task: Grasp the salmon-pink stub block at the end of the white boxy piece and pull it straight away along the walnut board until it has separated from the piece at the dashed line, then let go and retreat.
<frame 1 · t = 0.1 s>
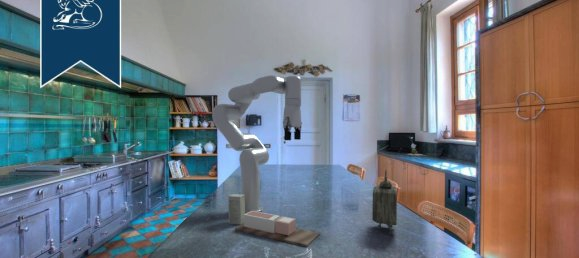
hand: (292, 139, 125), 37 cm above the countertop, tool pointing down, fingers open, 9 cm apart
white boxy piece: (262, 229, 111), resting on board
board: (276, 232, 108), on the countertop
stub: (285, 225, 106), point 4 cm above the countertop, slide at 0.0 cm
skincare box: (236, 222, 119), on the countertop
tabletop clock: (384, 229, 112), on the countertop
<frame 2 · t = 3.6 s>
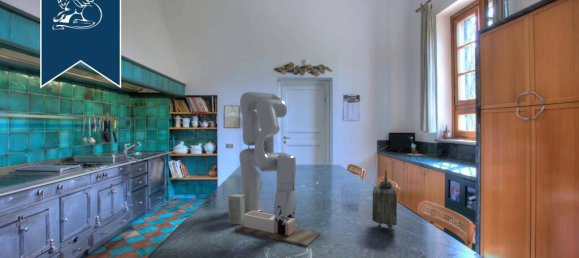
hand: (285, 230, 106), 1 cm above the countertop, tool pointing down, fingers closed on stub, 6 cm apart
stub: (285, 225, 106), point 4 cm above the countertop, slide at 0.0 cm, touching gripper
everything else where it was.
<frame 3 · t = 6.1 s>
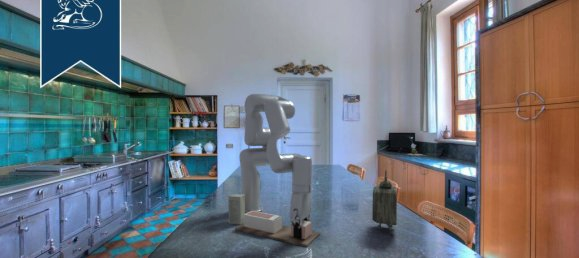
hand: (301, 234, 103), 1 cm above the countertop, tool pointing down, fingers closed on stub, 6 cm apart
stub: (301, 228, 103), point 4 cm above the countertop, slide at 7.0 cm, touching gripper
everything else where it was.
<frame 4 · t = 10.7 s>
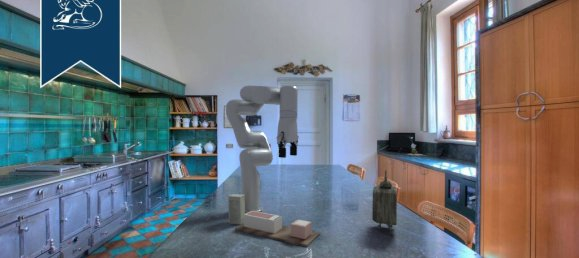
hand: (288, 156, 112), 30 cm above the countertop, tool pointing down, fingers open, 9 cm apart
stub: (301, 228, 103), point 4 cm above the countertop, slide at 6.9 cm
everything else where it was.
at the end: stub slide at 6.9 cm; the gripper is holding nothing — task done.
